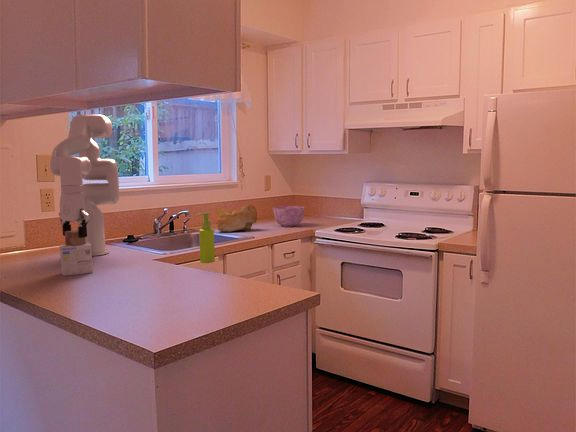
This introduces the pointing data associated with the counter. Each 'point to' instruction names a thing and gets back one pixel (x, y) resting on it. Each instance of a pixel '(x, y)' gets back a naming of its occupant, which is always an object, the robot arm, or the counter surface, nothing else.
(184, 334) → the counter surface
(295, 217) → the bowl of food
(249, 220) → the rough brown rock
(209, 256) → the soap dispenser
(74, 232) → the walnut cube
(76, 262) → the light bulb box
